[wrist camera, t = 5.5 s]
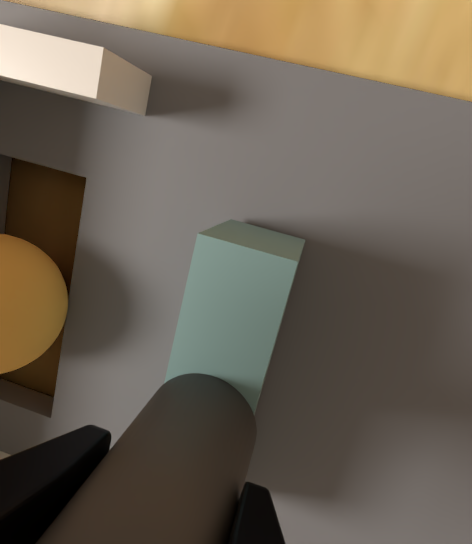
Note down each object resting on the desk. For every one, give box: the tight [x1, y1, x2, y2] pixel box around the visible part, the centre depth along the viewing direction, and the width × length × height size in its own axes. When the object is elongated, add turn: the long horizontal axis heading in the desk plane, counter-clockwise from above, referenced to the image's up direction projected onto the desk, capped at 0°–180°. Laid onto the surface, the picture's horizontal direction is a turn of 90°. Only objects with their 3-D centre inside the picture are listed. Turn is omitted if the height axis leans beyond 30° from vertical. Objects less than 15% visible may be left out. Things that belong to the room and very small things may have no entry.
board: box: [0, 0, 472, 544], centre depth 13 cm, size 21×16×1 cm
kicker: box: [35, 219, 305, 544], centre depth 8 cm, size 2×8×9 cm, turn 166°
